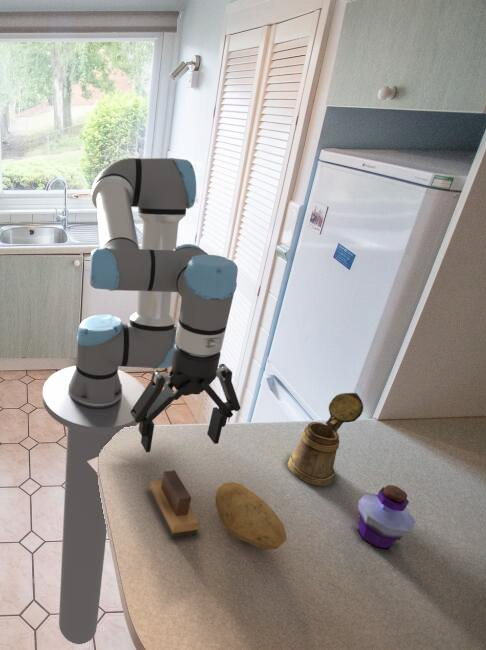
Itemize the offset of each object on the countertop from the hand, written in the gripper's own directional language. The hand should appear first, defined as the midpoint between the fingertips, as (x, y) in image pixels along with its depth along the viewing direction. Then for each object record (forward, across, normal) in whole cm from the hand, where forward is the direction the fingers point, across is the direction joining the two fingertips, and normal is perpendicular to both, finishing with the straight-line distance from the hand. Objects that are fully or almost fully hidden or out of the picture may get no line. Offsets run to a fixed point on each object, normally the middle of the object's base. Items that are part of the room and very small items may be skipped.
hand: (179, 443), depth 86 cm
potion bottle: (+17, +36, -14) cm, 42 cm away
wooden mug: (+17, +38, +4) cm, 42 cm away
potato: (+17, +12, -8) cm, 22 cm away
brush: (+17, 0, -2) cm, 17 cm away
